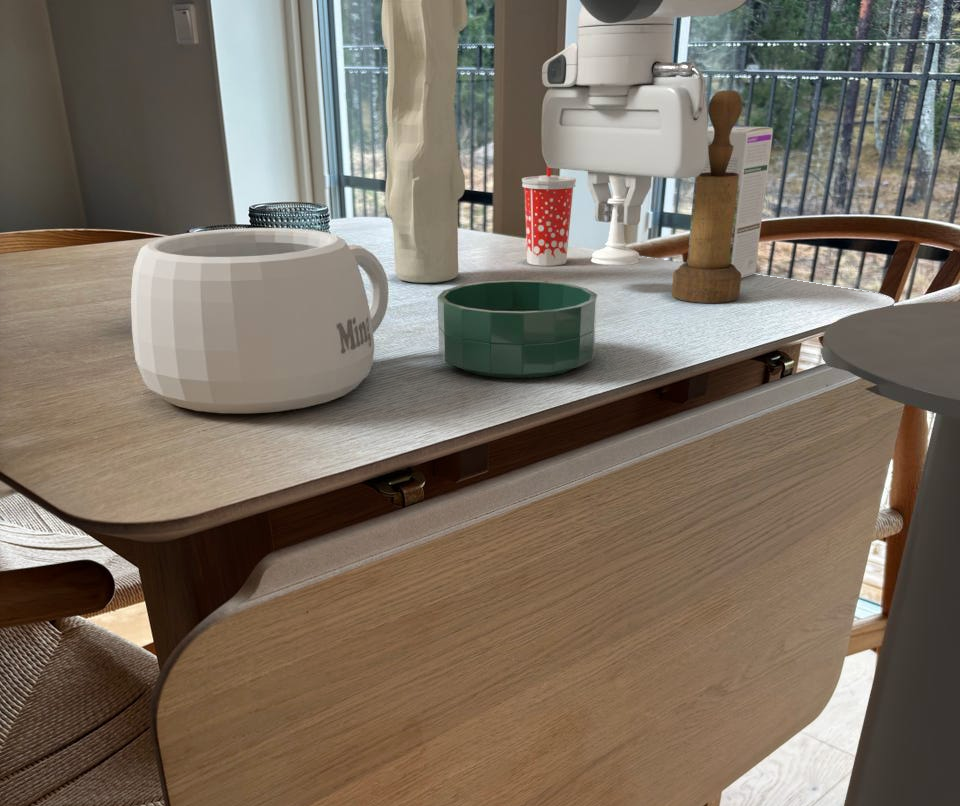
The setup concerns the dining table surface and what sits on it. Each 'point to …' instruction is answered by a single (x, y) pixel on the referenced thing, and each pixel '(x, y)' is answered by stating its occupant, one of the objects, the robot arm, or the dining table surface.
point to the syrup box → (745, 192)
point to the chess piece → (616, 230)
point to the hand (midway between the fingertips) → (616, 223)
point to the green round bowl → (517, 327)
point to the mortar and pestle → (713, 216)
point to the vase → (423, 136)
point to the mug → (254, 318)
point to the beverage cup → (547, 217)
